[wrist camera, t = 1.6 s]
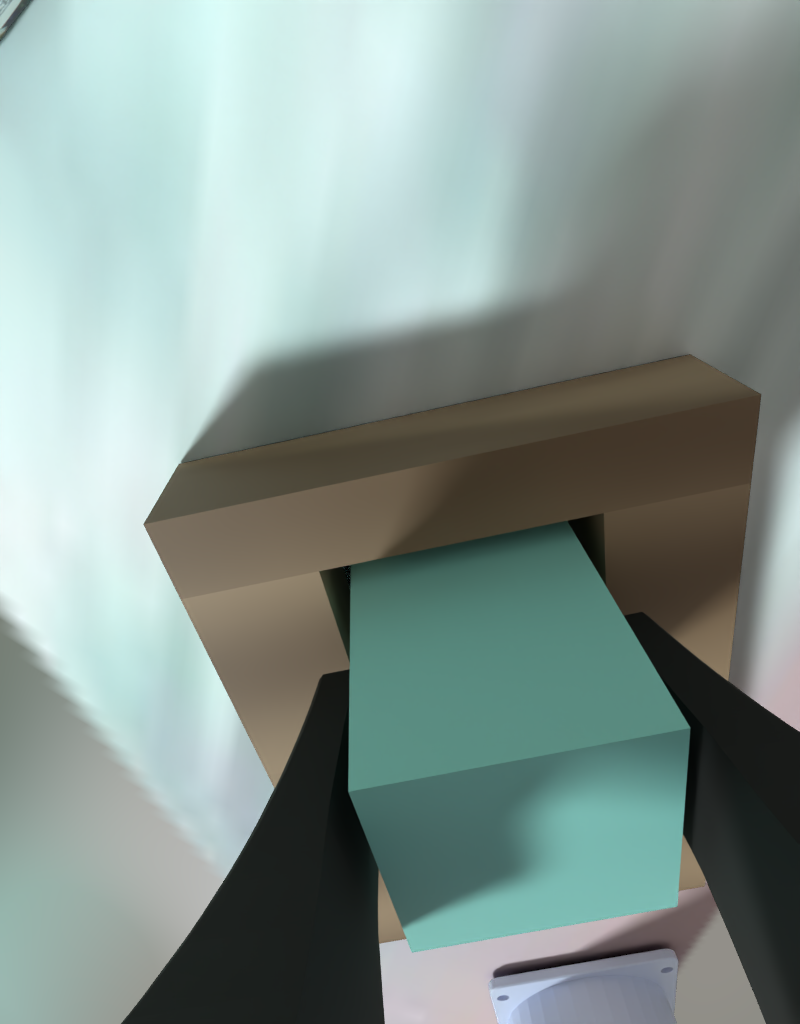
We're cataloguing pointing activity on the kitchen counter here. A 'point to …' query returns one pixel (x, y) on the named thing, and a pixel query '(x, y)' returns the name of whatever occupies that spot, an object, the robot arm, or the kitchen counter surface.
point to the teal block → (510, 741)
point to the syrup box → (10, 13)
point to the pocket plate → (463, 525)
